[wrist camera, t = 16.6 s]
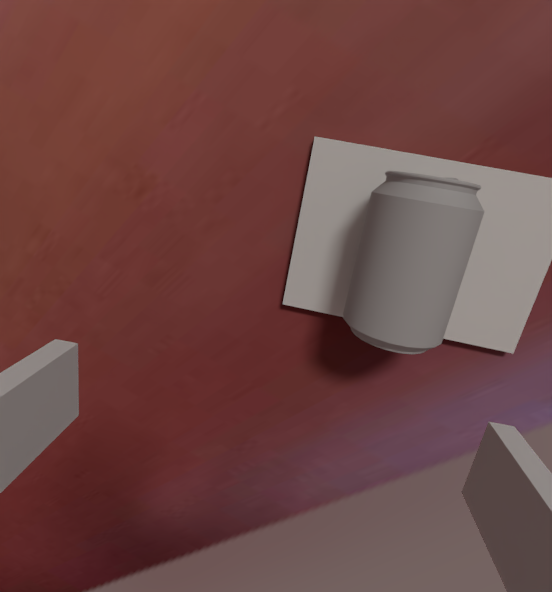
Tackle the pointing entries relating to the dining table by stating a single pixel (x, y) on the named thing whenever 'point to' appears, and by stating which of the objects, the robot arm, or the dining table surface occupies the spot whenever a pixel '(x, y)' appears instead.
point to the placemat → (485, 253)
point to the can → (412, 260)
